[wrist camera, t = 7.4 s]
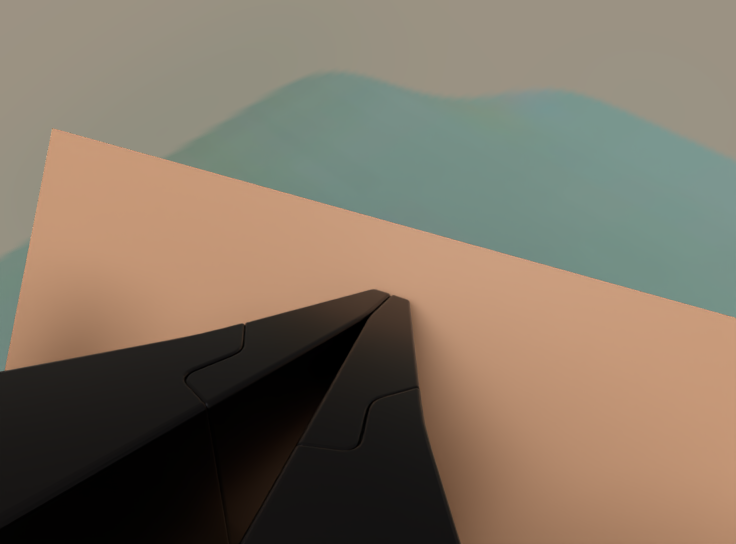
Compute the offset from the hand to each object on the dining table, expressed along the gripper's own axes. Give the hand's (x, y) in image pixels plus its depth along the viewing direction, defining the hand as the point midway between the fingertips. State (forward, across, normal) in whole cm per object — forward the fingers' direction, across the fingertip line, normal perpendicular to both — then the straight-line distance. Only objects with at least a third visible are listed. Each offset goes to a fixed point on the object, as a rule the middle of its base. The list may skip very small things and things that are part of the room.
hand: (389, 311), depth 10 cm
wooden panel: (-3, 0, -7) cm, 7 cm away
